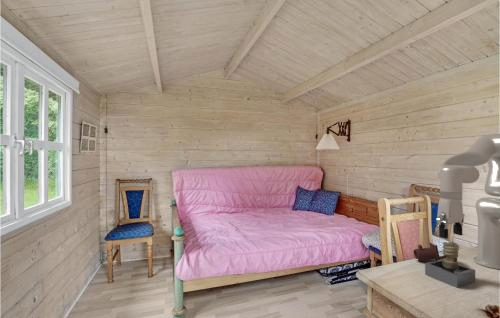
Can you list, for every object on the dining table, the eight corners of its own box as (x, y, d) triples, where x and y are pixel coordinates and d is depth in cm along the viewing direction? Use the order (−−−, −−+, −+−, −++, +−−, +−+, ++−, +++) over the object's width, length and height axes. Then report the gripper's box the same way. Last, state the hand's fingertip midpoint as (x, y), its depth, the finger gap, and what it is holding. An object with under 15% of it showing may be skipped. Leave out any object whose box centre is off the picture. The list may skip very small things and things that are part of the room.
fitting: (442, 269, 118) (442, 258, 118) (475, 282, 107) (475, 269, 107) (425, 274, 114) (425, 263, 113) (457, 287, 102) (457, 275, 102)
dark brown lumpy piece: (460, 264, 121) (456, 242, 122) (420, 267, 125) (416, 247, 125) (453, 259, 127) (449, 238, 128) (415, 262, 131) (411, 242, 131)
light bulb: (461, 279, 108) (462, 243, 108) (451, 281, 107) (452, 244, 107) (447, 273, 114) (448, 239, 114) (438, 274, 112) (439, 240, 112)
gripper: (453, 193, 117) (453, 231, 117) (428, 196, 110) (428, 236, 110) (473, 195, 110) (473, 235, 110) (448, 198, 103) (447, 241, 103)
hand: (450, 236), depth 110 cm, fingers open, 9 cm apart
